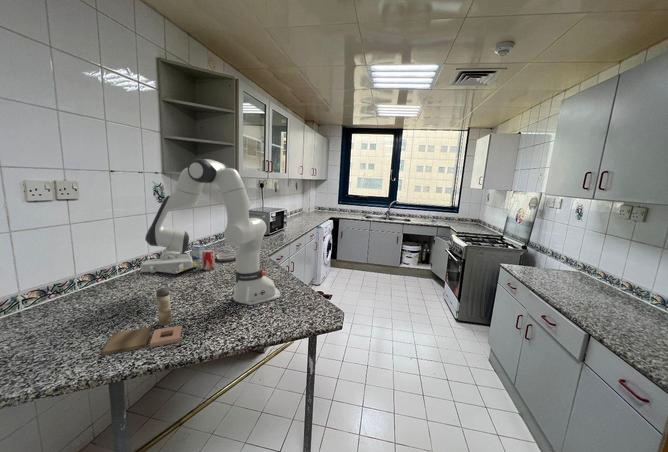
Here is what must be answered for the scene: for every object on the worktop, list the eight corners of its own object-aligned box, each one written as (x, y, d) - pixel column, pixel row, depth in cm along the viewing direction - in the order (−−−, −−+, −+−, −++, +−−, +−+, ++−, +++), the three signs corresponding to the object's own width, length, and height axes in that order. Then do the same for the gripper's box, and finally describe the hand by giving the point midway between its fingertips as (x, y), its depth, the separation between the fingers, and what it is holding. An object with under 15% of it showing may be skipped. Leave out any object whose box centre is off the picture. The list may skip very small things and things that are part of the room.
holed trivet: (182, 328, 108) (181, 325, 108) (179, 341, 100) (179, 337, 99) (154, 333, 104) (154, 329, 104) (150, 347, 96) (149, 343, 96)
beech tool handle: (172, 318, 115) (169, 287, 112) (171, 324, 111) (168, 291, 108) (160, 320, 113) (157, 288, 110) (158, 326, 109) (155, 293, 107)
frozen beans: (177, 268, 158) (141, 263, 163) (177, 277, 159) (142, 272, 164) (202, 258, 178) (169, 255, 183) (202, 267, 179) (170, 263, 184)
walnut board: (152, 329, 107) (151, 326, 106) (145, 347, 96) (145, 344, 96) (113, 335, 102) (113, 332, 102) (102, 355, 91) (101, 352, 91)
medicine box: (191, 257, 197) (190, 245, 195) (196, 256, 201) (196, 244, 199) (199, 259, 194) (199, 247, 192) (205, 257, 198) (204, 245, 196)
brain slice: (240, 262, 191) (240, 257, 191) (214, 263, 186) (214, 259, 186) (241, 254, 210) (241, 250, 209) (217, 255, 205) (217, 251, 204)
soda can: (210, 271, 171) (209, 252, 169) (200, 270, 172) (199, 251, 170) (217, 267, 178) (216, 249, 175) (207, 266, 179) (206, 248, 177)
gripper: (143, 255, 127) (136, 265, 115) (193, 252, 135) (191, 261, 123) (144, 268, 128) (137, 279, 116) (193, 264, 137) (192, 274, 124)
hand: (165, 270), depth 120 cm, fingers open, 8 cm apart
